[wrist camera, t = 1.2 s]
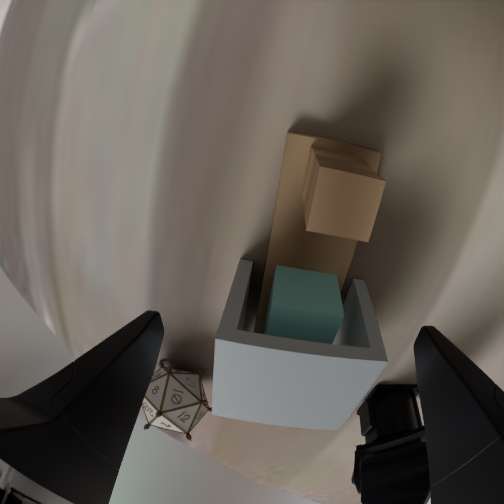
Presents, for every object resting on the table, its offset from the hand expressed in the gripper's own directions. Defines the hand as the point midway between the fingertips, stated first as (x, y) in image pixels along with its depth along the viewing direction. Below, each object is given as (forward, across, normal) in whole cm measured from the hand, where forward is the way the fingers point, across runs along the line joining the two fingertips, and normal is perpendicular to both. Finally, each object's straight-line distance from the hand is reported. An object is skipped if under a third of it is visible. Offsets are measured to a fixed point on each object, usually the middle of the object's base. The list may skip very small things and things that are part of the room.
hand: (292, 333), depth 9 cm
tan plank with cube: (+12, -1, +3) cm, 13 cm away
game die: (+13, +11, +21) cm, 27 cm away
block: (+11, -1, +7) cm, 13 cm away
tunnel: (+12, -1, +10) cm, 16 cm away
